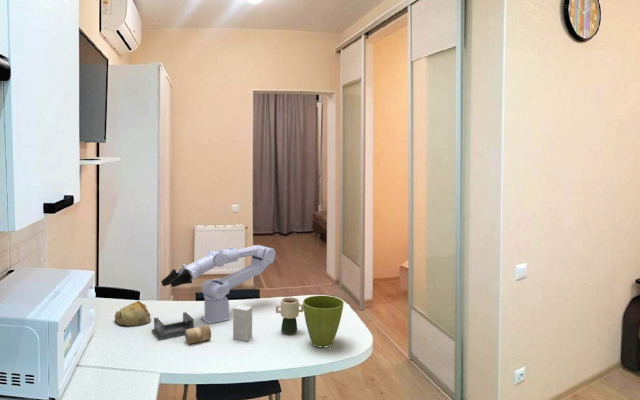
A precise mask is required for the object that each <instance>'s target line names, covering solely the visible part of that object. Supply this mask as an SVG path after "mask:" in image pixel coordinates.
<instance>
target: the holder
mask: <svg viewBox="0 0 640 400" xmlns="http://www.w3.org/2000/svg"><path fill="white" fill-rule="evenodd" d="M194 321H195V319H194V318H193V317H192V316H191V315H190V314H188V313H187V312H186V311H185V312H182V321H178V322H173V323H168V324H164V323H163V322H162V321H161V319H159V317H154V318H153V329H151V333H152V334H153V335H154V337H155V338H156V339H157V340H158V341H163V340H167V339H169V340H170V339H172V338H178V337H182V336H185V330H186V329H191V328H195V326H194V324H195V323H194Z"/></svg>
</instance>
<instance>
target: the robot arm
mask: <svg viewBox="0 0 640 400" xmlns="http://www.w3.org/2000/svg"><path fill="white" fill-rule="evenodd" d="M246 257H251V258H250V264H249V265H246V266H245V267H242V268H240V269H239V270H236V271H234V272H232V273H230V274H227V275H226V276H224V277H222V278H220V277H219V278H214V279H207V280H205V281H204V282H203V283H202V285H201V287H200V291H201V293H202V294H203V298H204V315H202V316H201V317H200V318H201V319H202V320H203V321H204V322H205V323H206V324H208V325H209V324H214V323H219V322H224V321H230V320H231V319H230V301H229V299H228V297H227V296H226V295H228V294H230V289H233V288H234V287H237V286H239V285H240V284H243V283H244V282H246V281H248V280H250V279H253V278H254V277H256V276H258V275H260V274H261V273H263V271H264V270H266V268H268V266H269V265H271V264H273V263H274V262H275V258H276V250H275V249H274V248H272V247H267V246H264V245H261V244H257V245H256V244H254V245H252V246H248V247H247V246H246V247H244V248H241V249H237V248H235V247H234V246H233V247H232V246H229V247H228V248H227V249H219V250H218V251H216V250H209V251H208V252H207V253H206V255H204V256H203V257H201V258H198V259H197V260H195V261H193V262H191V263H189V264H188V265H186V263H183V264H181V268H180V269H179V270H176V269H175V268H174V269H171V272H170V273H169V274H168V275H167V276H166V277H164V278H163V279H162V280H161V281H160V282H161V284H162V287H166V286H169V285H171V287H172V288H176V287H179V286H182V285H186V284H188V285H189V284H192V283H193V279H195V278H197V277H200V276H201V275H203V274H206V273H207V272H208V271H210V270H213V269H214V268H216V267H217V268H222V267H224V266H225V265H227V264H230V263H231V264H232V263H235V262H237V261H239V258H246Z"/></svg>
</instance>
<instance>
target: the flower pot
mask: <svg viewBox="0 0 640 400" xmlns="http://www.w3.org/2000/svg"><path fill="white" fill-rule="evenodd" d="M302 304H303V307H304V311H303V314H304V319H305V324H306V329H307V332H308V335H309V339H310V341H311V344H312V345H313V344H314V345H316V346H321V347H325V346H329V345H331V344H332V345H333V343H334V340H335V338H336V336H337V333H338V331H339V326H340V323H341V318H342V315H343V310H344V301H343V299H341V298H338V297H335V296H333V295H312V296H309V297H305V298H304V299H303V301H302ZM314 345H313V346H314ZM332 345H331V346H332ZM316 346H315V347H316ZM321 347H320V348H321ZM329 347H330V346H329ZM325 348H326V347H325Z"/></svg>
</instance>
